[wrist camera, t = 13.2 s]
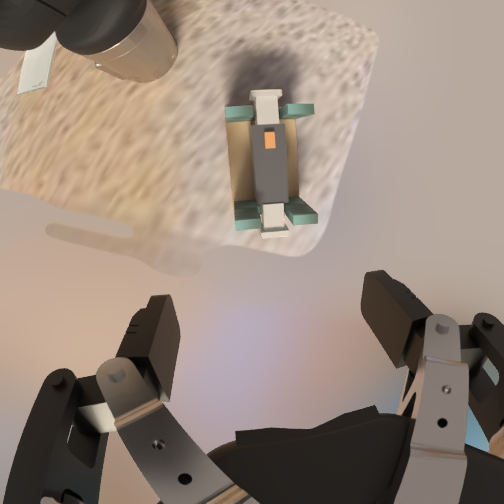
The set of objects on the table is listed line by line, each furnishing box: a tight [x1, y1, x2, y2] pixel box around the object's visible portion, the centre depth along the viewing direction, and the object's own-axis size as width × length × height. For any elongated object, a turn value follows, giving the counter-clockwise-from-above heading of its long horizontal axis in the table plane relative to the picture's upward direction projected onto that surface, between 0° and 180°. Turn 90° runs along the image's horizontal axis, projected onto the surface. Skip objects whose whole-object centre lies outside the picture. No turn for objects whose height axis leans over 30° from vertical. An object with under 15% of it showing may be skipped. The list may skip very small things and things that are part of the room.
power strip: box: [249, 89, 289, 239], centre depth 35 cm, size 4×19×6 cm, turn 4°
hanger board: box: [225, 104, 318, 231], centre depth 35 cm, size 10×16×11 cm, turn 4°
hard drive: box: [17, 31, 59, 95], centre depth 27 cm, size 2×8×12 cm
